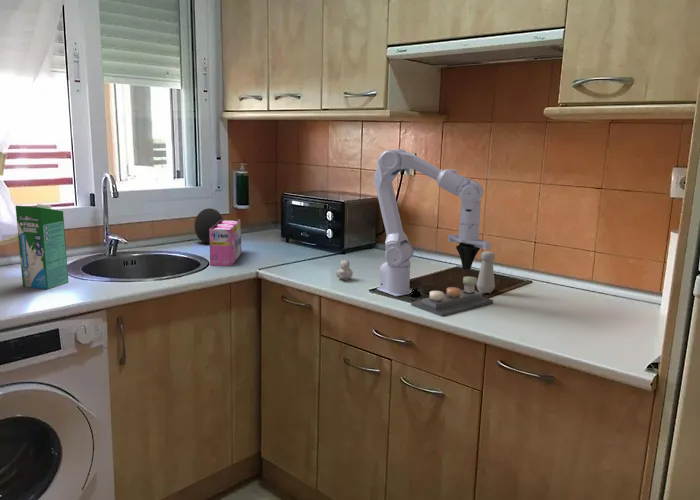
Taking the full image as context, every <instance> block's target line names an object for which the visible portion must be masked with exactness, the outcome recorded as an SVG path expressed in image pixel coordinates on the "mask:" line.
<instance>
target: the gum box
mask: <svg viewBox="0 0 700 500" xmlns="http://www.w3.org/2000/svg"><path fill="white" fill-rule="evenodd" d="M241 223H242V222H241V219H237V221H235V220H226V218H223V219H222V220H220V221H219V222H218V223H217V224H215V225H214V226H213V227H212V228H210V229H209V234H210V244H209V266H211V267H213V266H216V267H231V266H232V265H233V264H234V263H235V262H236V261H237V259H238V258H239V257H240V255H241V254H242V253H243V251H242V249H243V248H242V227H241Z"/></svg>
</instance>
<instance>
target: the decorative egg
mask: <svg viewBox="0 0 700 500" xmlns="http://www.w3.org/2000/svg"><path fill="white" fill-rule="evenodd" d="M222 219H224V218H223V216H222V214H221V213H220V211H218V210H217V209H214V208H205V209H203V210H200V212H199V213H198V214H197V216H196V218H195V220H194V232H195V235H196V237H197V238H198V239H199V241H201V242H203V243H205V244H209V245H210V234H209V229H210V228H212V227H213V226H214V225H215V224H217V223H218V222H219V221H220V220H222Z"/></svg>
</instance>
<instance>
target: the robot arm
mask: <svg viewBox="0 0 700 500" xmlns="http://www.w3.org/2000/svg"><path fill="white" fill-rule="evenodd" d="M376 161H377V166H376V169H375V172H374V173H375V174H374V178H373V183H374V187H375V192H376V195H377V199H378V204H379V209H380V213H381V217H382V221H383V225H384V226H383V227H384V230H385V235H386V238H385V242H384V246H385V252H384V258H385V262H383V263H382V264H381V265H380V268H379V277H378V278H379V279H378V281H379V282H378V284H379V286H378V287H377V288H376V290H377V291H380V292H383V293H386V294H389V295H391V296H394V297H400V296H405V295H411V294H412V293H411V291H412V290H413V289H411V288H410V281H411V277H410V276H411V262H410V259H411V258H412V257H413V255H414V248H413V245H412V243H410V242H409V239H408V235H407V234H406V233H405V232H404V228H403V225H402V219H401V217H400V212H399V208H398V203H397V198H396V195H395V190H394V185H393V182H394V180H395V179H396V177H397V176H398V174H400V172H402V171H403V170H410V169H411V170H415V171H416V172H418V173H420V174H423V175H425V176H427V177H429V178H430V179H433V180H435V181H436V183H437V185H438V187H439V188H441V189H443V190H445V191H446V192H449V193H450V194H452V195H454V196H456V197H459V199H460V200H461V201H460V202H461V203H460V204H461V205H460V212H459V226H458V227H459V228H458V229H459V230H458V235H457V234H448V235H447V242H449V243H451V242H452V243H455V244H456V243H457V244H458V245H455V249H456V251H457V252H458V254H459V255H458V256H459V257H460V262H461V266H462V270H464V271H469V270H471V269H472V267H473V266H472V265H473V262H474V260H475V258H476V256H477V254H478V253H479V251H480V249H482V250H484V251H486V250H490V249H491V242H489V241H487V240H484V239H483V240H482V239H481V238H479V237H480V226H481V225H480V224H481V223H480V222H481V210H482V209H481V204H482V203H481V202H482V201H481V199H482V198H483V195H484V188H483V186H482V185H481V183H479V182H478V181H475V180H472V181H471V178H470V177H464V176H462V175H461V174H458V172H457V170H456V169H454V168H452V169H449V168H446V169H443V170H441V168H438V167H437V166H436V165H433V164H431V163H429V162H428V161H426V160H425V159H423V158H421V157H420V156H418V155H416V154H414V153H412V152H409V151H406V150H405V149H401V148H397V149H387V150H386V149H385V151H383V152H382V153H381V154H380V156H379V157H378V158H377V160H376ZM410 293H411V294H410Z"/></svg>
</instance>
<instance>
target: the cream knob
mask: <svg viewBox="0 0 700 500" xmlns="http://www.w3.org/2000/svg"><path fill="white" fill-rule="evenodd" d="M444 294H445V293H444V292H443V291H442V290H441V291H440V290H431V291H429V297H428V298H430V299H431V300H433V301H436V302H438V301H442V299H444Z"/></svg>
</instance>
